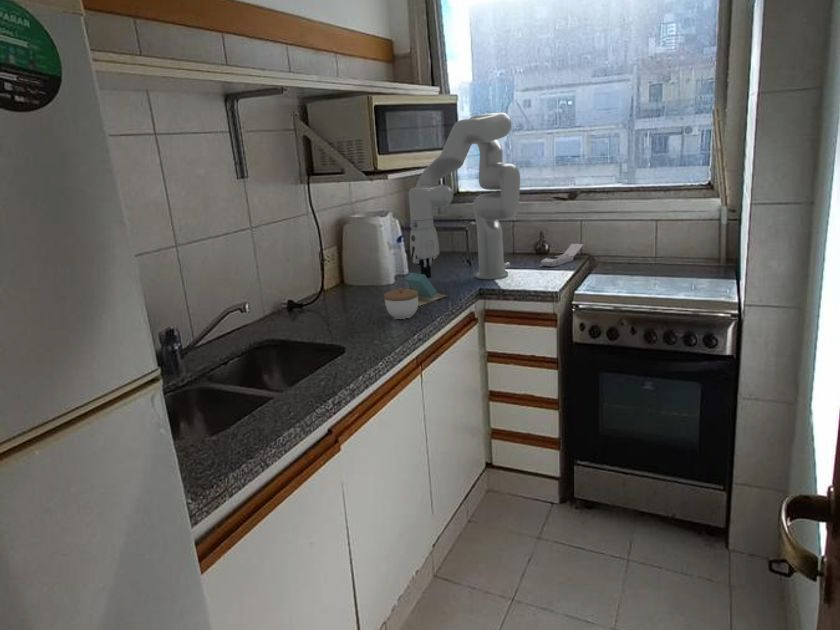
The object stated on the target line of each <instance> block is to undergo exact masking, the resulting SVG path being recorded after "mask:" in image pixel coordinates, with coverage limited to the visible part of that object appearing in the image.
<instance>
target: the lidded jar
mask: <svg viewBox="0 0 840 630" xmlns="http://www.w3.org/2000/svg"><path fill="white" fill-rule="evenodd" d="M383 298H384V304H385V307H386V311H387V313H388V314H389V315H390V316H392V318H393V319H394V320H397V319H404V320H406V319H405V318H409V319H411V318H410V317H412V316H413V317H414V315H415V314H416V313H417V310H418V308H419V307H418V291H416V290H413V288H412V289H411V288H403V287H398V289H393V290H389V291H387V292H386V293H384V295H383ZM413 317H412V318H413Z"/></svg>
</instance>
